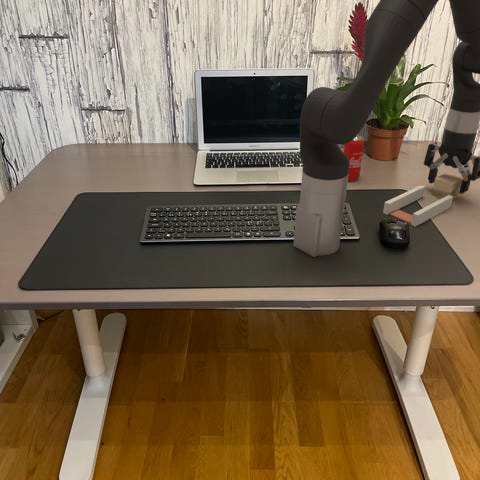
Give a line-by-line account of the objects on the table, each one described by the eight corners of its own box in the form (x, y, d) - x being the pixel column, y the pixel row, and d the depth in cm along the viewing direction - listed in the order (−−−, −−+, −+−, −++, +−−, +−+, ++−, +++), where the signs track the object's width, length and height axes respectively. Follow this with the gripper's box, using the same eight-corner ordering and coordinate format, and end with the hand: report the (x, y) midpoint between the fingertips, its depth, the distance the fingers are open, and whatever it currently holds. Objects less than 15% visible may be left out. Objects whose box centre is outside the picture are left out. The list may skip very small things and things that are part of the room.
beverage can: (358, 175, 142) (363, 134, 136) (360, 182, 137) (365, 141, 131) (339, 174, 142) (344, 134, 136) (341, 181, 138) (346, 140, 132)
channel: (415, 226, 115) (417, 215, 114) (382, 213, 121) (384, 202, 120) (450, 207, 124) (453, 196, 123) (418, 195, 130) (421, 185, 129)
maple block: (448, 201, 127) (453, 183, 125) (431, 195, 131) (435, 177, 128) (460, 195, 131) (465, 178, 128) (443, 189, 134) (447, 172, 132)
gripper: (426, 123, 123) (414, 183, 132) (481, 137, 114) (465, 200, 122) (442, 117, 128) (430, 175, 136) (496, 131, 118) (480, 192, 126)
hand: (446, 187), depth 129 cm, fingers open, 8 cm apart
